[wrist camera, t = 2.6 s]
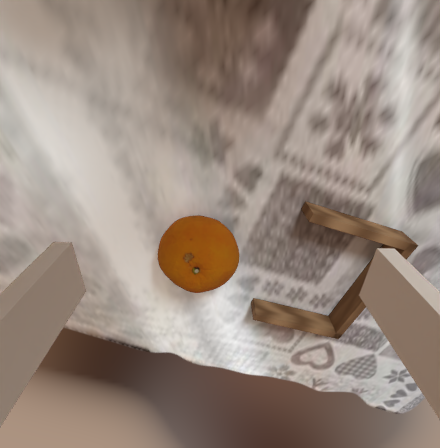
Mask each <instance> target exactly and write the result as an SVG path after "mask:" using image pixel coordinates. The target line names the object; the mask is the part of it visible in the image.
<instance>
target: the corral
mask: <svg viewBox="0 0 440 448" xmlns="http://www.w3.org/2000/svg"><path fill="white" fill-rule="evenodd" d="M302 211H303V213H304V214H305V216H306V218H307V219H308V221H309V222H312V223H315V224H318V225H322V226H325V227H328V228H332V229H335V230H339V231H342V232H345V233H349V234H352V235H355V236H359V237H362V238H365V239H369V240H372V241H375V242H379V243H382V244H383V246H382V247H381V248H390V249H395V250H396V251H397V252H399V253H400V254H401V255H402V256H403V257H404V258H405V259H407V258H408V257H409V256H410V255H411V253H412V252H413V251H414V250H415V249H416V248H417V246H418V245H417V244H416V243H415V242H414V241H412V240H411V239H410V238H409V237H408V236H407V235H405V234H404V233H403V232H402V231H398V230H395V229H392V228H389V227H386V226H382V225H379V224H376V223H373V222H370V221H366V220H363V219H360V218H357V217H354V216H350V215H347V214H344V213H341V212H338V211H334V210H331V209H328V208H325V207H322V206H318V205H315V204H312V203H309V202H305V203H304V205H303V207H302ZM372 260H373V259H372ZM372 260H371V261H370V263H369V264H368V265H367V266H366V268H365V269H364V270H363V272H362V273H361V274H360V276H359V277H358V278H357V279H356V281H355V282H354V283H353V285H352V286H351V287H350V289H349V290H348V291H347V292H346V294H345V295H344V296H343V298H342V299H341V300H340V302H339V303H338V304H337V305H336V307H335V308H334V309H333V311H332V312H331V313H330V315H329V316H326V315H322V314H318V313H314V312H309V311H305V310H301V309H297V308H293V307H289V306H284V305H280V304H276V303H272V302H268V301H264V300H259V299H255V298H253V300H252V302H251V306H252V314H253V320H257V321H261V322H266V323H270V324H274V325H279V326H283V327H288V328H292V329H297V330H301V331H305V332H310V333H314V334H319V335H323V336H327V337H332V338H336V339H339V338H340V337H341V336H342V334H343V333H344V332H345V331H346V330H347V329H348V327H349V326H350V325H351V324H352V323H353V322H354V320H355V319H356V318H357V317H358V316H359V314H360V313H361V312H362V311H363V310H364V309H365V307H366V306H365V304H364V302H363V301H362V299H361V298H360V296H359V294H360V291H361V289H362V286H363V284H364V281H365V278H366V276H367V273H368V270H369V268H370V265H371V263H372Z"/></svg>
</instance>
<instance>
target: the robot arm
mask: <svg viewBox="0 0 440 448" xmlns="http://www.w3.org/2000/svg"><path fill="white" fill-rule="evenodd" d="M85 292H86V289H85V285H84V282H83V279H82V275H81V272H80V269H79V265H78V262H77V259H76V255H75V252H74V249H73V245H72V242H53V243H52V244H51V245H50V246H49V247H48V248H47V249H46V250H45V251H44V252H43V253H42V254H41V255H40V256H39V257H38V258H37V259H36V260H35V261H34V262H33V263H32V264H31V265H30V266H29V267H28V268H27V269H26V270H25V271H24V272H23V273H21V274H20V275H19V276H18V277H17V278H16V279H15V280H14V281H13V282H12V283H11V284H10V285H9V286H8V287H7V288H6V289H5V290H4V291H3V292H2V293H1V294H0V427H1V425H2V424H3V422H4V421H5V419H6V417H7V416H8V414H9V412H10V411H11V409H12V408H13V406H14V405H15V403H16V402H17V400H18V398H19V397H20V395H21V394H22V392H23V390H24V389H25V387H26V386H27V384H28V382H29V381H30V379H31V378H32V376H33V375H34V373H35V371H36V370H37V368H38V366H39V365H40V363H41V362H42V360H43V359H44V357H45V356H46V354H47V352H48V351H49V349H50V348H51V346H52V344H53V343H54V341H55V340H56V338H57V337H58V335H59V333H60V332H61V330H62V329H63V327H64V325H65V324H66V322H67V321H68V319H69V317H70V316H71V314H72V313H73V311H74V310H75V308H76V306H77V305H78V303H79V302H80V300H81V298H82V297H83V295H84V294H85ZM359 296H360V298H361V299H362V301H363V302H364V304H365V306H366V307H367V309H368V310H369V312H370V313H371V315H372V316H373V318H374V319H375V321H376V322H377V324H378V326H379V327H380V329H381V330H382V332H383V333H384V335H385V336H386V338H387V339H388V341H389V342H390V344H391V346H392V347H393V349H394V350H395V352H396V353H397V355H398V356H399V358H400V359H401V361H402V362H403V364H404V366H405V367H406V369H407V370H408V372H409V373H410V375H411V376H412V378H413V379H414V381H415V382H416V384H417V386H418V387H419V389H420V390H421V392H422V393H423V395H424V396H425V398H426V399H427V401H428V402H429V404H430V406H431V407H432V408H433V410H434V412H435V413H436V415H437V416H438V418H439V419H440V292H439V291H438V290H437V289H436V288H435V287H434V286H433V285H432V284H431V283H430V282H429V281H428V280H427V279H426V278H425V277H423V276H422V275H421V274H420V273H419V272H418V271H417V270H416V269H415V268H414V267H413V266H412V265H411V264H410V263H409V262H408V261H407V260H406V259H405V258H404V257H403V256H402V255H401V254H400V253H399V252H397V251H396V250H395V249H390V248H377V249H376V252H375V255H374V257H373V260H372V263H371V265H370V268H369V270H368V273H367V276H366V278H365V281H364V284H363V286H362V289H361V291H360V294H359Z"/></svg>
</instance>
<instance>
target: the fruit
mask: <svg viewBox="0 0 440 448" xmlns="http://www.w3.org/2000/svg"><path fill="white" fill-rule="evenodd" d="M158 262H159V265H160V268H161V270H162V271H163V272H164V274H165V275H166V276H167V277H168V278H169V279H170V280H171V281H172V282H173V283H175V284H176V285H177V286H179V287H181V288H183V289H185V290H187V291H190V292H194V293H201V292H205V291H209V290H213V289H215V288H218V287H220V286H222V285H223V284H225V283H226V282H227V281H228V280H229V279H230V278H231V277H232V275H233V274H234V273H235V271H236V269H237V266H238V263H239V250H238V247H237V243H236V241H235V238H234V236H233V234H232V233H231V232H230V231H229V230H228V229H227V227H226V226H224V225H223V224H222V223H221V222H219V221H218V220H215V219H213V218H209V217H204V216H189V217H184V218H181V219H179V220H177V221H176V222H174V223H173V224H172V225H171V226H170V227H169V228H168V229H167V231H166V232H165V233H164V235H163V236H162V238H161V241H160V244H159V249H158Z"/></svg>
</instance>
